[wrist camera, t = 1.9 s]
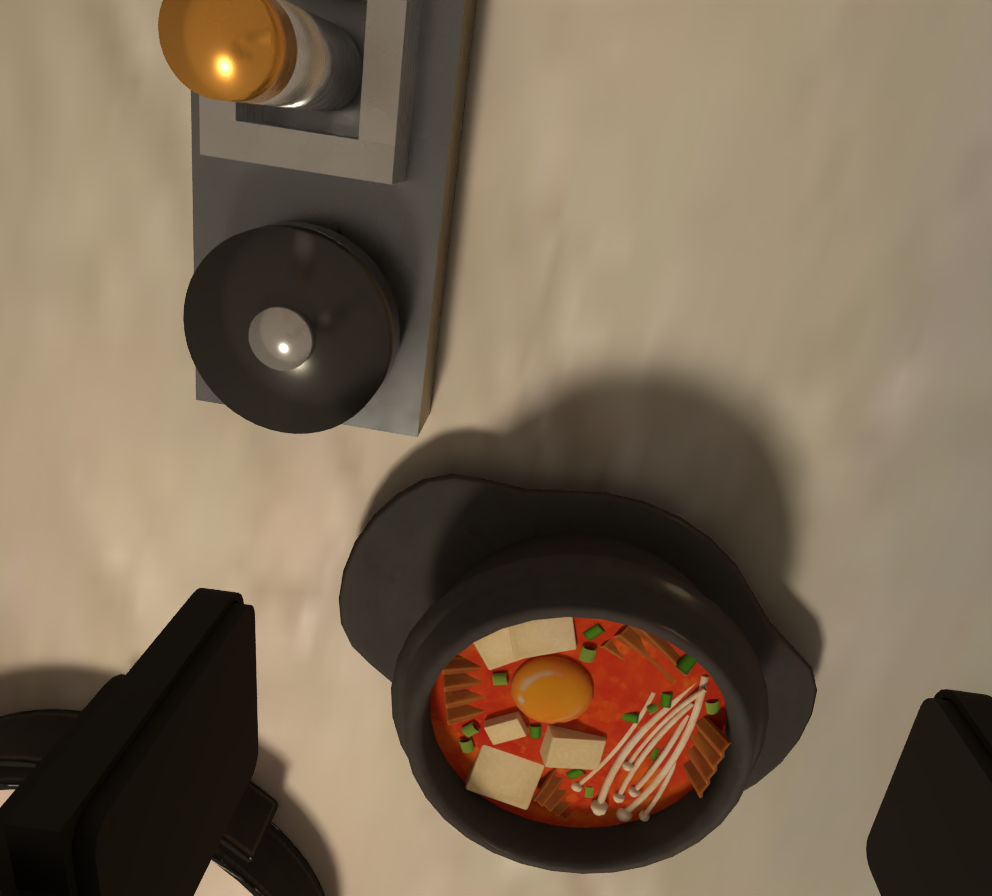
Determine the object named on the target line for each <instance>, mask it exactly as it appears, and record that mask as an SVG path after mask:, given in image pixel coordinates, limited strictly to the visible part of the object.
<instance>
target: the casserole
mask: <svg viewBox="0 0 992 896" xmlns="http://www.w3.org/2000/svg"><path fill="white" fill-rule="evenodd" d="M339 606H340V617H341V625H342V627H343V629H344V631H345V633H346V635H347V637H348V639H349V641H350V643H351V645H352V647H353V648H354V649H355V650H356V651H358V652H359V653H360V654H361V655H362V656H363V657H364V658H365V659H366V660H367V661H368V662H369V663H370V664H371V665H372V666H373V667H374V668H376V669H377V670H378V671H379V672H380V673H381V674H383V675H384V676H385V677H386V678H387V679H389V680H390V681H391V682H392V686H391V696H392V715H393V720H394V723H395V727H396V730H397V734H398V737H399V740H400V744H401V746H402V748H403V750H404V751H405V753H406V755H407V757H408V759H409V762H410V766H411V769H412V773H413V775H414V777H415V779H416V781H417V782H418V784H419V786H420V788H421V790H422V791H423V793H424V795H425V797H426V798H427V799H428V801H429V802H430V803H431V804H432V805H433V806H434V808H435V809H436V810H437V811H438V812H439V814H440V815H441V816H442V817H443V818H444V819H445V820H446V821H447V822H448V823H450V824H451V825H452V826H453V827H455V828H456V829H457V830H458V831H459V832H461V833H462V834H463V835H464V836H465V837H467V838H469V839H470V840H472V841H474V842H475V843H477V844H479V845H481V846H482V847H484V848H486V849H488V850H489V851H491V852H493V853H495V854H498V855H501V856H503V857H506V858H508V859H511V860H513V861H516V862H518V863H521V864H525V865H529V866H533V867H538V868H542V869H546V870H550V871H559V872H570V873H581V874H587V873H610V872H618V871H624V870H629V869H634V868H639V867H644V866H647V865H650V864H653V863H656V862H659V861H661V860H664V859H667V858H670V857H673V856H675V855H677V854H678V853H680V852H682V851H684V850H686V849H687V848H689V847H691V846H693V845H694V844H696V843H698V842H700V841H701V840H702V839H703V838H704V837H706V836H707V835H708V834H709V833H710V832H712V831H713V830H714V829H715V828H716V827H718V826H719V825H720V824H721V823H722V822H723V821H724V819H725V818H726V817H727V816H728V814H729V813H730V812H731V810H732V809H733V808H734V807H735V805H736V804H737V803H738V801H739V799H740V797H741V795H742V793H743V791H744V790H746V789H748V788H749V787H751V786H753V785H755V784H756V783H757V782H759V781H760V780H761V779H762V778H763V777H765V776H766V775H767V774H768V773H769V772H771V771H772V770H773V769H774V768H775V767H777V766H778V765H779V764H780V763H781V762H782V761H783V759H784V758H785V757H786V756H787V754H788V753H789V752H790V751H791V749H792V748H793V747H794V746H795V744H796V743H797V742H798V741H799V739H800V737H801V735H802V733H803V731H804V729H805V727H806V725H807V723H808V721H809V719H810V717H811V715H812V712H813V707H814V702H815V697H816V693H817V688H816V684H815V680H814V676H813V671H812V667H811V666H810V665H809V664H808V663H807V662H806V661H805V660H804V659H803V657H802V656H801V655H800V654H799V653H798V652H797V651H796V650H795V649H794V648H793V646H792V645H791V644H790V643H789V642H788V641H787V640H786V639H785V638H784V637H783V636H782V634H781V633H780V632H779V631H778V630H777V629H776V628H775V627H774V626H773V625H772V624H771V622H770V621H769V620H768V618H767V616H766V615H765V613H764V611H763V609H762V608H761V606H760V604H759V603H758V601H757V599H756V597H755V596H754V594H753V592H752V591H751V589H750V587H749V586H748V584H747V582H746V581H745V579H744V577H743V576H742V574H741V572H740V570H739V569H738V567H737V565H736V564H735V563H734V562H733V561H732V560H731V559H730V558H729V557H728V556H727V555H726V554H725V553H724V551H723V550H722V549H721V548H720V547H719V546H718V545H717V544H716V543H715V542H714V541H713V540H712V539H711V538H709V537H708V536H707V535H705V534H704V533H702V532H701V531H699V530H698V529H696V528H695V527H694V526H692V525H691V524H689V523H688V522H686V521H685V520H683V519H682V518H680V517H678V516H676V515H674V514H671V513H669V512H667V511H664V510H662V509H660V508H658V507H655V506H653V505H651V504H648V503H646V502H643V501H639V500H635V499H630V498H626V497H622V496H618V495H613V494H609V493H601V492H580V491H557V490H532V489H524V488H519V487H515V486H511V485H507V484H502V483H498V482H494V481H490V480H484V479H479V478H473V477H468V476H462V475H457V474H450V475H445V476H439V477H433V478H427V479H423V480H421V481H420V482H418V483H416V484H414V485H412V486H411V487H409V488H407V489H405V490H403V491H402V492H400V493H398V494H397V495H396V496H395V497H394V498H392V499H391V500H390V501H389V502H388V503H387V504H386V505H385V506H384V507H383V508H382V509H380V510H379V511H378V512H377V513H376V514H375V515H374V516H373V517H372V519H371V520H370V522H369V523H368V524H367V526H366V527H365V529H364V530H363V531H362V533H361V534H360V536H359V537H358V538H357V540H356V541H355V543H354V546H353V548H352V551H351V553H350V556H349V558H348V561H347V563H346V566H345V568H344V571H343V577H342V583H341V589H340V595H339Z"/></svg>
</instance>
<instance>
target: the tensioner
mask: <svg viewBox="0 0 992 896" xmlns="http://www.w3.org/2000/svg"><path fill="white" fill-rule="evenodd" d="M285 1H287V2H289V3H291V4H293V5H296V6H298V7H300V8H302V9H304V10H306V11H308V12H310V13H312V14H315V15H317V16H319V17H321V18H323V19H325V20H327V21H329V22H331V23H334V24H335V25H337V26H339V27H340V28H342V29H343V30H344V31H345V32H347V33H348V34H349V36H350V37H351V38H352V40H353V41H354V43H355V44H356V47H357V49H358V51H359V54H360V58H361V64H362V75H361V81H360V85H359V87H358V90H357V92H356V94H355V95H354V96H353V98H352V99H351V100H350V101H349V102H348V103H347V104H346V105H344V106H343V107H341V108H339V109H336V110H332V111H316V110H307V109H297V108H288V107H278V106H269V105H259V104H250V103H241V102H231V101H222V100H214V99H209V98H206V97H203V96H201V95H199V94H197V93H195V92H193V91H192V90H191V122H192V181H193V240H194V275H193V277H192V279H191V281H190V284H189V287H188V290H187V293H186V298H185V303H184V331H185V336H186V341H187V346H188V349H189V352H190V354H191V357H192V360H193V362H194V364H195V366H196V400H201V401H207V402H213V403H219V404H225V405H226V406H227V407H229V408H230V409H231V410H232V411H234V412H235V413H237V414H238V415H240V416H241V417H243V418H245V419H246V420H248V421H250V422H252V423H254V424H256V425H259V426H262V427H265V428H267V429H270V430H275V431H279V432H284V433H294V434H304V433H314V432H320V431H324V430H327V429H331V428H333V427H336V426H338V425H340V424H344V425H350V426H356V427H362V428H367V429H373V430H379V431H385V432H391V433H397V434H403V435H409V436H415V437H418V435H419V433H420V431H421V429H422V428H423V426H424V424H425V422H426V420H427V418H428V416H429V414H430V407H431V398H432V389H433V380H434V371H435V362H436V354H437V345H438V336H439V327H440V318H441V309H442V301H443V292H444V283H445V274H446V265H447V257H448V248H449V239H450V230H451V221H452V212H453V204H454V195H455V186H456V177H457V168H458V159H459V151H460V142H461V133H462V124H463V115H464V106H465V98H466V89H467V80H468V71H469V62H470V53H471V45H472V36H473V27H474V18H475V9H476V0H285Z"/></svg>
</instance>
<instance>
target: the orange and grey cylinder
mask: <svg viewBox="0 0 992 896" xmlns="http://www.w3.org/2000/svg"><path fill="white" fill-rule="evenodd" d="M158 30H159V39H160V44H161V47H162V51H163V54H164V56H165V58H166V61H167V63H168V64H169V66H170V68H171V70H172V71H173V72H174V74H175V75H176V76H177V78H178V79H179V80H180V81H181V82H182V83H183V84H184V85H185V86H187V87H188V88H189V89H191V90H192V91H193V92H195V93H197V94H199V95H201V96H203V97H206V98H209V99H214V100H222V101H231V102H241V103H250V104H259V105H269V106H278V107H288V108H297V109H307V110H316V111H332V110H336V109H339V108H341V107H343V106H344V105H346V104H347V103H348V102H349V101H350V100H351V99H352V98H353V96H354V95H355V94H356V92H357V90H358V87H359V85H360V81H361V75H362V64H361V58H360V54H359V51H358V49H357V47H356V44H355V43H354V41H353V40H352V38H351V37H350V36H349V34H348V33H347V32H345V31H344V30H343V29H342V28H340V27H339V26H337V25H335V24H334V23H331V22H329V21H327V20H325V19H323V18H321V17H319V16H317V15H315V14H312V13H310V12H308V11H306V10H304V9H302V8H300V7H298V6H296V5H293V4H291V3H289V2H287V1H285V0H163V2H162V5H161V8H160V13H159V21H158Z"/></svg>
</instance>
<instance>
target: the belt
mask: <svg viewBox="0 0 992 896" xmlns="http://www.w3.org/2000/svg"><path fill="white" fill-rule="evenodd" d="M80 713H81V712H80V711H70V710H36V711H28V712H21V713H14V714H10V715H6V716H2V717H0V790H9V789H17V787H18V786H19V785H20V784H21V783H22V782H23V780H24V779H25V778H26V777H27V776H28V774H29V773H30V772H31V771H32V770H33V769H34V767H35V766H36V765H37V764H38V763H39V762H40V760H41V759H42V758H43V757H44V756H45V754H46V753H47V752H48V751H49V750H50V749H51V747H52V746H53V745H54V744H55V743H56V741H57V740H58V739H59V738H60V737H61V736H62V734H63V733H64V732H65V731H66V730H67V729H68V727H69V726H70V725H71V724H72V723H73V721H74V720H75V719H76V718H77V717H78V716H79V714H80ZM277 807H278V805H277V802H276V801H275V800H274V799H273V798H271V797H270V796H269V795H267V794H266V793H265V792H264V791H262V790H261V789H260V788H258V787H257V786H256V785H254V784H253V783H252V782H249V784H248V786H247V788H246V790H245V792H244V794H243V796H242V798H241V800H240V802H239V804H238V806H237V808H236V810H235V812H234V814H233V816H232V819H231V821H230V823H229V825H228V827H227V829H226V831H225V833H224V835H223V837H222V839H221V841H220V843H219V845H218V847H217V849H216V851H215V853H214V855H213V857H212V859H211V861H212V862H214V863H215V864H217V865H218V866H219V867H221V868H222V869H223V870H225V871H226V872H227V873H228V874H230V875H231V876H232V877H234V878H235V879H236V880H237V881H239V882H240V883H241V884H242V885H243V886H244V887H245V888H246V889H247V890H248V891H249V892H251V893H252V894H253V895H254V896H324V893H323V890H322V888H321V886H320V884H319V881H318V879H317V877H316V876H315V874H314V872H313V871H312V869H311V867H310V866H309V864H308V863H307V861H306V860H305V859H304V857H303V856H302V855H301V853H300V852H299V851H298V850H297V849H296V847H295V846H294V845H293V844H292V843H291V842H290V840H289V839H288V838H287V837H286V836H285V835H284V834H283V833H282V832H281V831H280V830H279V829H278V828H277V827H276V826H275V825H274V824H272V823H271V821H272V819H273V817H274V814H275V812H276V810H277Z"/></svg>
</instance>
